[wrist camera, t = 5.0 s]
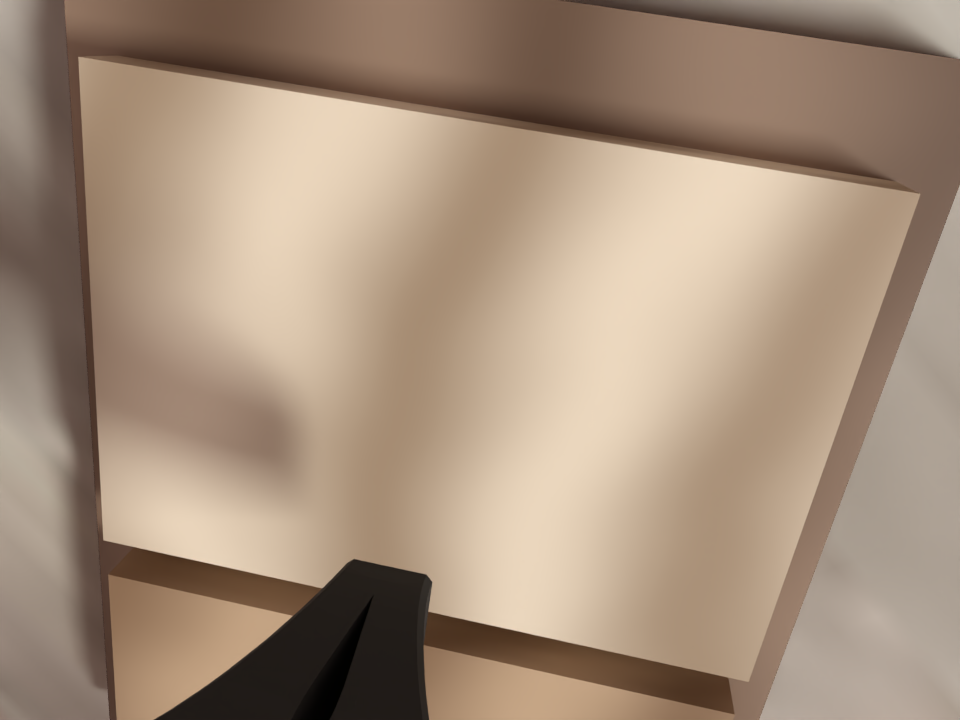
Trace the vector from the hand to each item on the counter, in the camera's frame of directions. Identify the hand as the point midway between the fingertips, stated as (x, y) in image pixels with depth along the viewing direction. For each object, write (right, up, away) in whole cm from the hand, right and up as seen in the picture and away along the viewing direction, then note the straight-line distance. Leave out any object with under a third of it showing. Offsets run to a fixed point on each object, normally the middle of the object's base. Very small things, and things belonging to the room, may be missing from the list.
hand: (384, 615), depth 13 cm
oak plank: (+1, +4, +3) cm, 5 cm away
